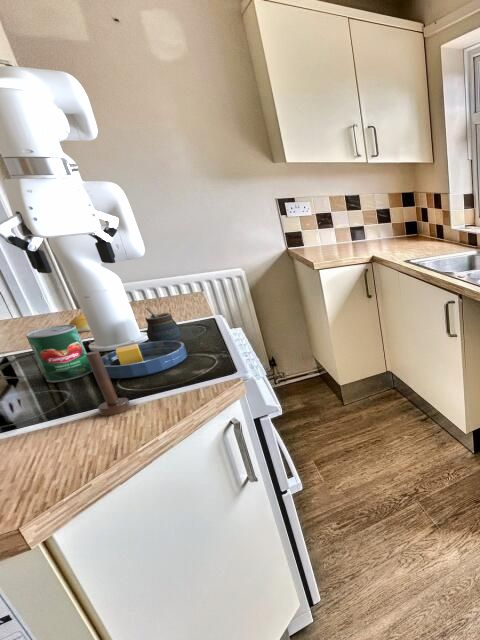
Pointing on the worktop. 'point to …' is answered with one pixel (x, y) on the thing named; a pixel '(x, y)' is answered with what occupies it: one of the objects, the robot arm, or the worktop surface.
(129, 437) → the worktop surface
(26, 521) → the worktop surface
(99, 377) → the muddler
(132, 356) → the block
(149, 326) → the mate gourd
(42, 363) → the canned tomato
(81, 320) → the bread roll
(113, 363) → the bowl
